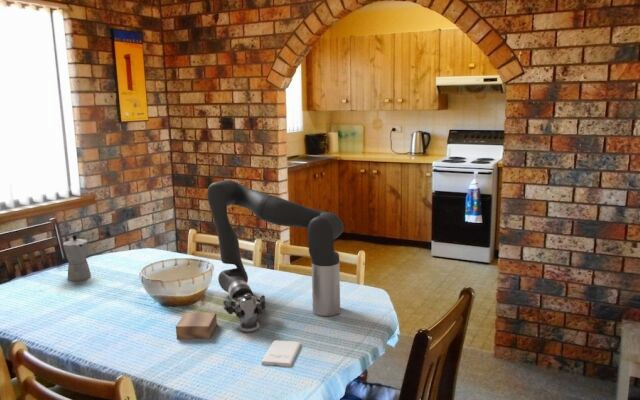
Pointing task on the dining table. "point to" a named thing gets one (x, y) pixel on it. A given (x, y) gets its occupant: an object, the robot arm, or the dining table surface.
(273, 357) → the external hard drive
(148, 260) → the dining table surface
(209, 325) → the stand
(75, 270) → the coffeepot
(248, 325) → the cylinder
